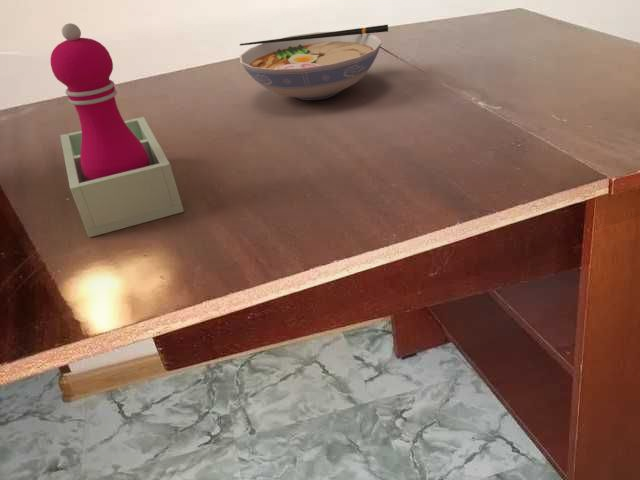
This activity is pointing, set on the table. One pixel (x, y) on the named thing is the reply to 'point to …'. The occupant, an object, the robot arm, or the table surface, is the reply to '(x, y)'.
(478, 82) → the table surface
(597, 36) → the table surface
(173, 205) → the green divided box
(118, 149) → the pepper mill
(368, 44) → the ramen bowl
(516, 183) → the table surface
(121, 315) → the table surface
